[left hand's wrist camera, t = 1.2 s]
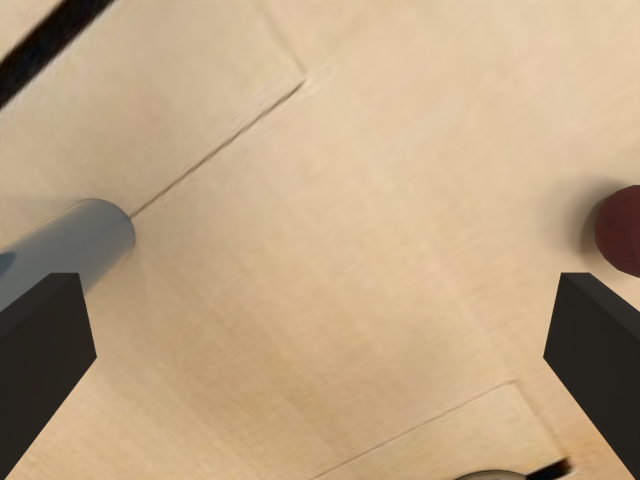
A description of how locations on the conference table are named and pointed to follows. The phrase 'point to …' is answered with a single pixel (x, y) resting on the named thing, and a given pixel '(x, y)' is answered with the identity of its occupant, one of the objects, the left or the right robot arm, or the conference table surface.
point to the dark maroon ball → (621, 230)
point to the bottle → (67, 249)
